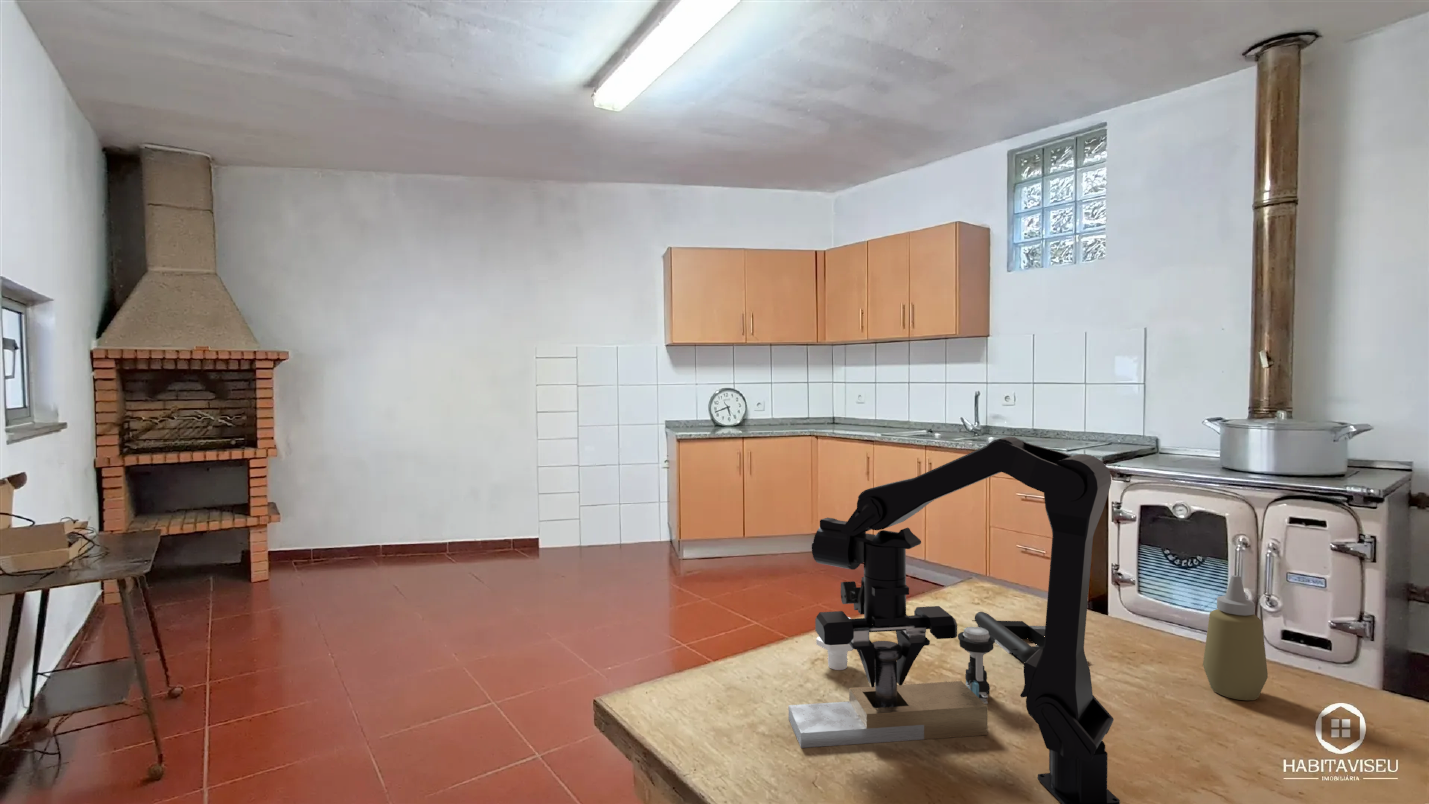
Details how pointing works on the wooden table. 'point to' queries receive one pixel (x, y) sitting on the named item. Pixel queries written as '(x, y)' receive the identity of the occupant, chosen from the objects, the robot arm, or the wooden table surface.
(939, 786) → the wooden table surface
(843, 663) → the pipe fitting
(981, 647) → the push button
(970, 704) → the tan and silver block
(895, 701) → the metal knob
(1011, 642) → the black frame
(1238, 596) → the squeeze bottle
